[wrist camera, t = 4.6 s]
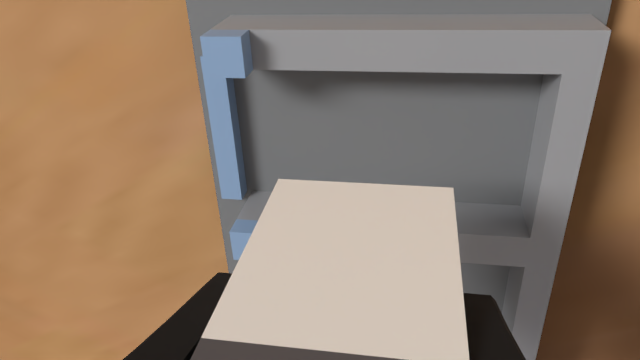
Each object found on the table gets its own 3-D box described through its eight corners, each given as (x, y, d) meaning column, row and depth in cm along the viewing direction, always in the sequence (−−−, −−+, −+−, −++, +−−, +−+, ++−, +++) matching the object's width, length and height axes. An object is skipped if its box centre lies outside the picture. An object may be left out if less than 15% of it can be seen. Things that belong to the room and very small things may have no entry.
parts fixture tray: (504, 458, 27) (514, 529, 24) (257, 425, 29) (239, 487, 26) (609, -21, 15) (652, 2, 12) (190, -15, 18) (144, 5, 15)
